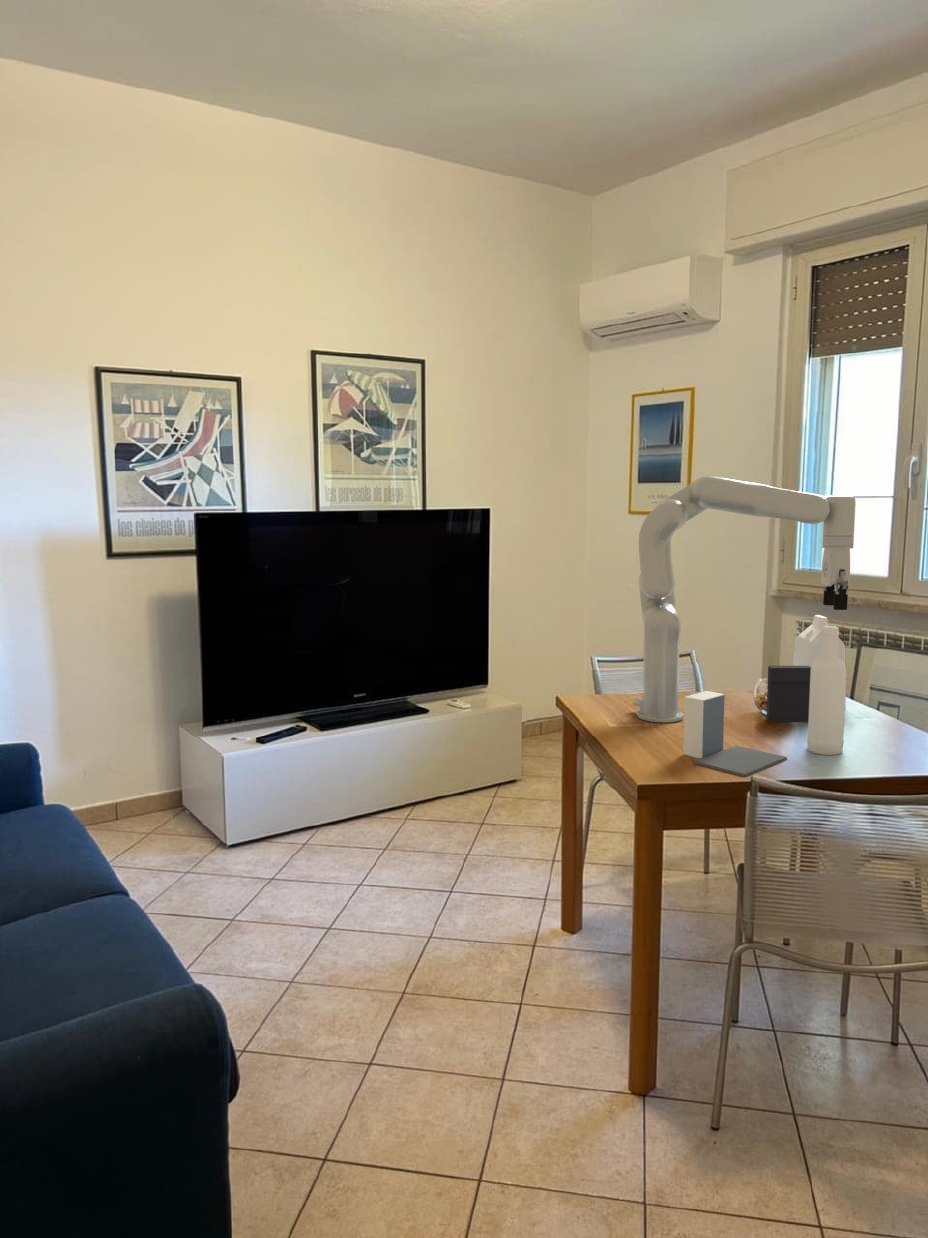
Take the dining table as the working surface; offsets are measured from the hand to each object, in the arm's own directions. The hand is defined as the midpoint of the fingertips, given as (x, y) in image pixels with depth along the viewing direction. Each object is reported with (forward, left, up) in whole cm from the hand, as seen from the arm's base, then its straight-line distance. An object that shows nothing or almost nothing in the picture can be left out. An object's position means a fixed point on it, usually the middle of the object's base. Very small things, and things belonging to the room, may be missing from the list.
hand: (834, 607), depth 226 cm
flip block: (-7, -49, -31) cm, 58 cm away
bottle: (+12, -27, -31) cm, 43 cm away
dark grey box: (-8, -7, -31) cm, 33 cm away
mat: (+3, -49, -31) cm, 58 cm away
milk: (-12, +16, -31) cm, 37 cm away
